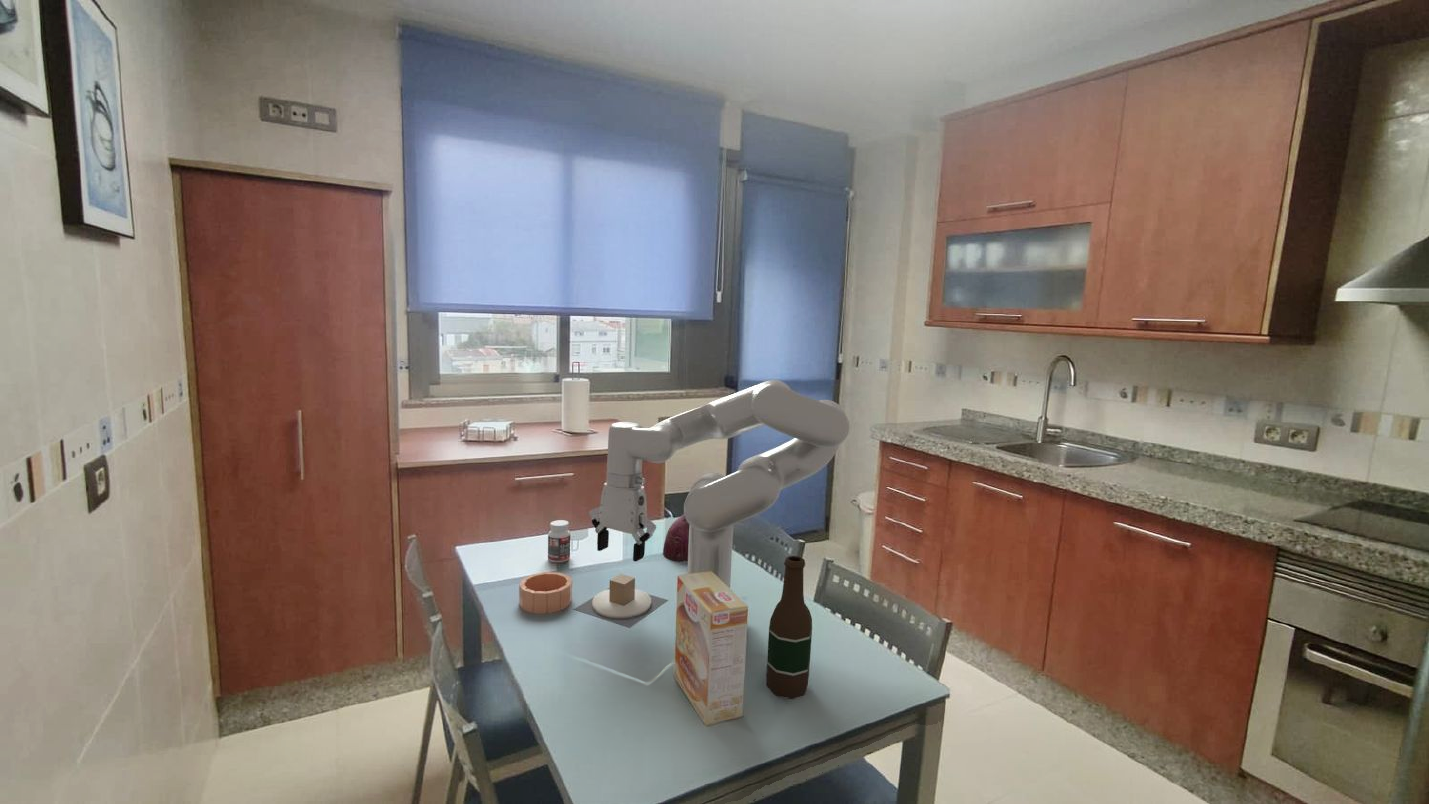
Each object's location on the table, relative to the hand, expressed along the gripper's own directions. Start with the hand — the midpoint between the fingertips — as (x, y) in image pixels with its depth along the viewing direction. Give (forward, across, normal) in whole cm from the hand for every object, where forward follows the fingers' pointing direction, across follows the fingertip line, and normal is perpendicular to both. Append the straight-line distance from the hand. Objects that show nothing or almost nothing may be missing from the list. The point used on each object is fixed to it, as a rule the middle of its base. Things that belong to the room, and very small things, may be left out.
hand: (620, 554), depth 137 cm
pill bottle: (+13, +29, -13) cm, 35 cm away
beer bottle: (+11, -44, +9) cm, 46 cm away
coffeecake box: (+12, -33, +19) cm, 40 cm away
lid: (+12, -1, 0) cm, 12 cm away
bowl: (+13, +14, +8) cm, 20 cm away
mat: (+12, -1, 0) cm, 12 cm away
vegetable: (+12, +4, -34) cm, 37 cm away
